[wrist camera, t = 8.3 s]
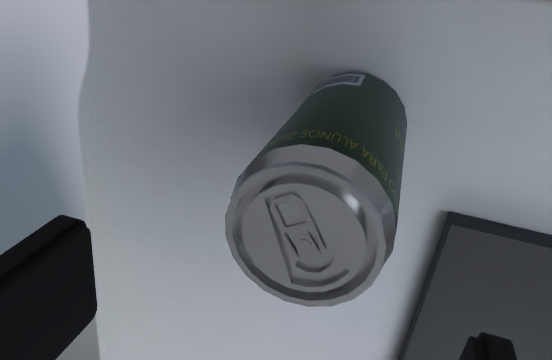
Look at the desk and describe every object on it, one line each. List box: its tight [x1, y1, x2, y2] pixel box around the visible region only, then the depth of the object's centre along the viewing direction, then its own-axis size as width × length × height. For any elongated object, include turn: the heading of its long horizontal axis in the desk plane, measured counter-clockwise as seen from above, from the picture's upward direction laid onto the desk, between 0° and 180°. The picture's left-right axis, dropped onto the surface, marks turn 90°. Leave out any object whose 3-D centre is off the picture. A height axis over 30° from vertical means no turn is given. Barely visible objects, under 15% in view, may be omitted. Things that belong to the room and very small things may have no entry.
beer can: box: [225, 72, 407, 307], centre depth 18 cm, size 5×5×12 cm
